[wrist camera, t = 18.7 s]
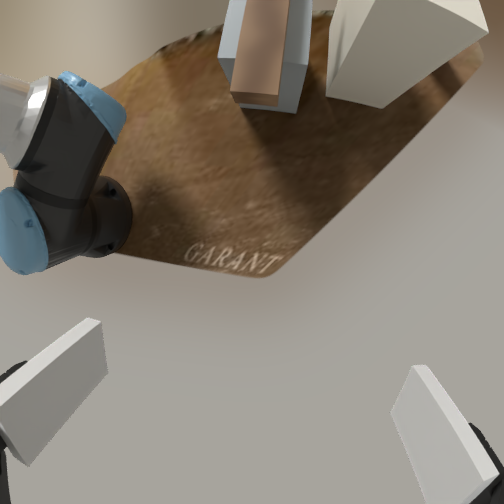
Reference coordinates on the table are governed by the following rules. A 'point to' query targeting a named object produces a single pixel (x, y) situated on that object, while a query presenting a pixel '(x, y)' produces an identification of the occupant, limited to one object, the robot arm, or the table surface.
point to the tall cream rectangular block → (395, 44)
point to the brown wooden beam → (260, 53)
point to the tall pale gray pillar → (293, 52)
